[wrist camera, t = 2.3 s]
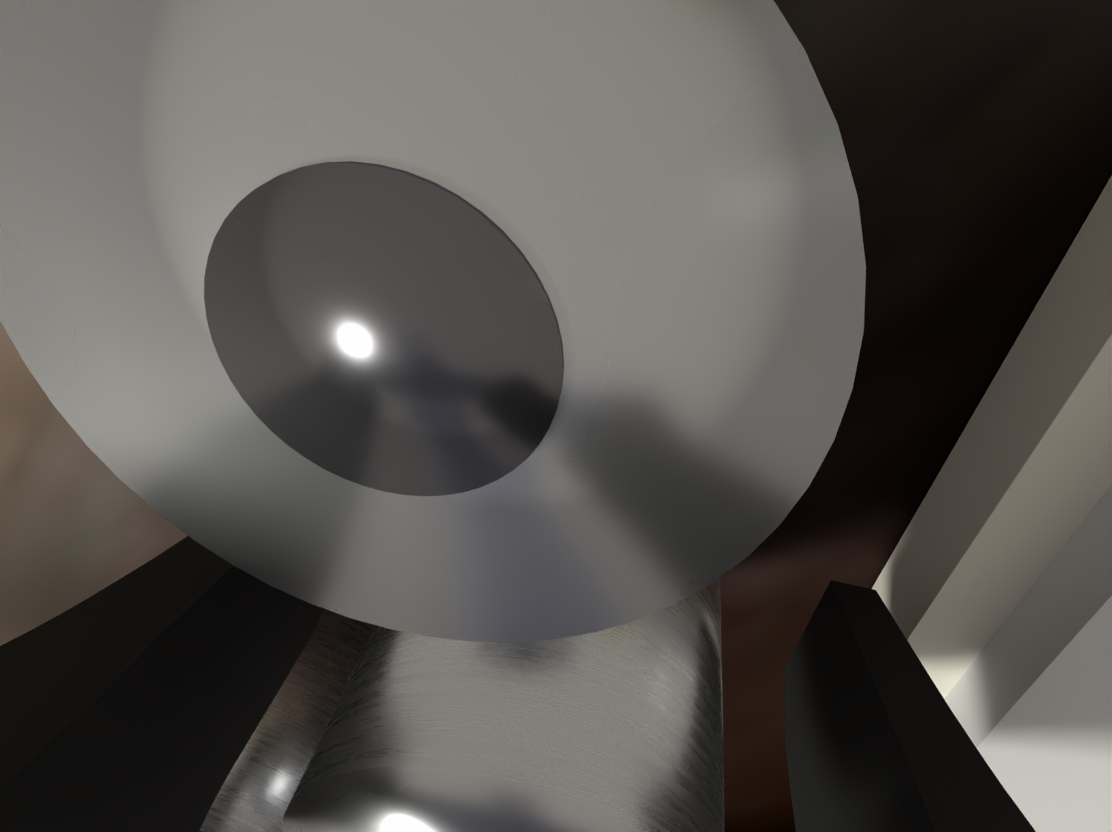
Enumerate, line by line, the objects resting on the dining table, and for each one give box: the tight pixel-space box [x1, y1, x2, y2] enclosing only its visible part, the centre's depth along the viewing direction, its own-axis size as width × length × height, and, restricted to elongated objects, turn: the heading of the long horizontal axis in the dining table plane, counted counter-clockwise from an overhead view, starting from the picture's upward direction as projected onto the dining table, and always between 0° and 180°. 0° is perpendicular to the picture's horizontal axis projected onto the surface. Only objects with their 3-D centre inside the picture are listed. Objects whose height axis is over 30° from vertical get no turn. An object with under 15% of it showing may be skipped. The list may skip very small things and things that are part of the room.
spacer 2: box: [0, 0, 866, 642], centre depth 6 cm, size 4×4×6 cm
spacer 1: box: [199, 609, 375, 832], centre depth 13 cm, size 4×4×6 cm
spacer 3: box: [282, 578, 725, 832], centre depth 9 cm, size 4×4×6 cm
